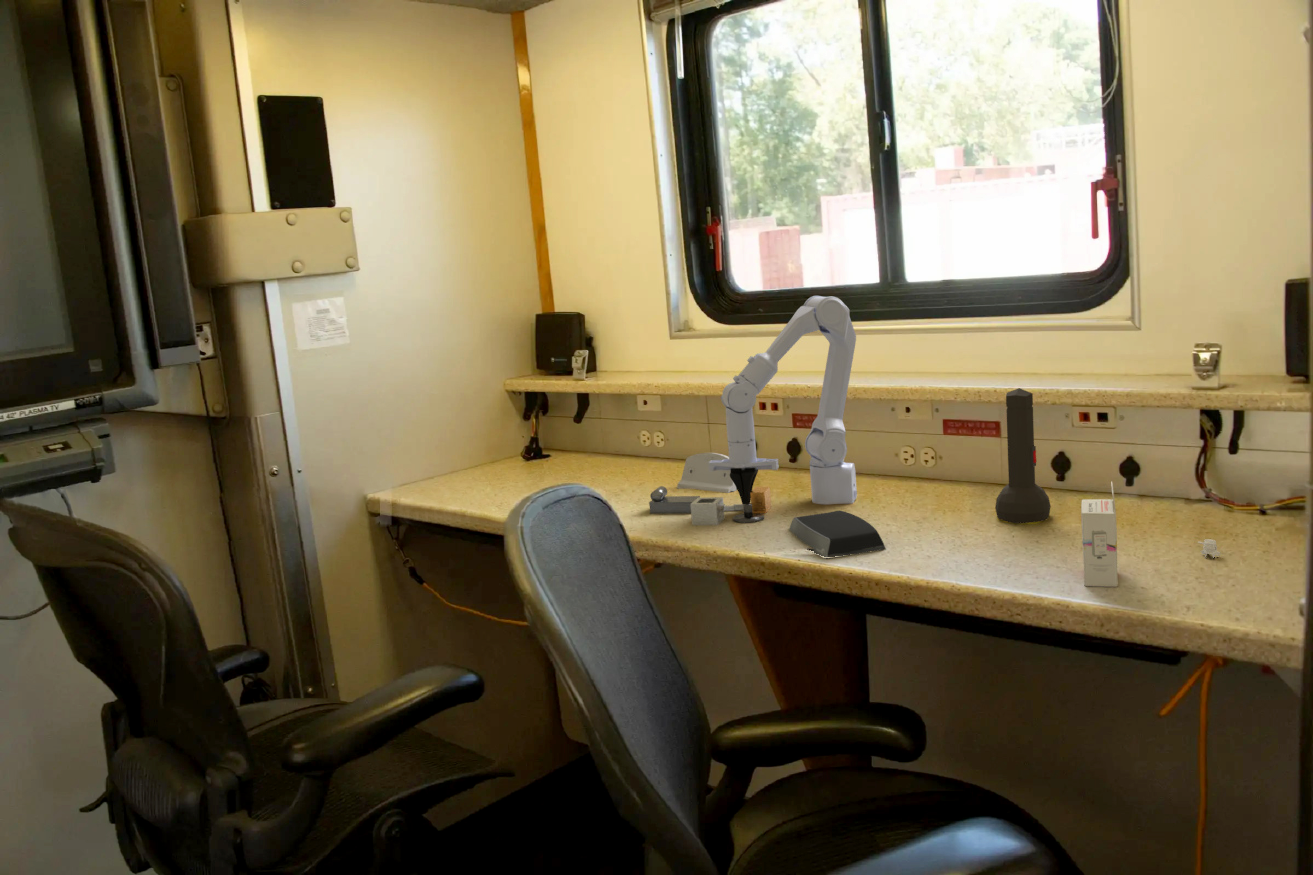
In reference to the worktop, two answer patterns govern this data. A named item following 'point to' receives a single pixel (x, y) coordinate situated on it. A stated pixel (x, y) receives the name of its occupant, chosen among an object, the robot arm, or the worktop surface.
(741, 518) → the post
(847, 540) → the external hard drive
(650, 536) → the worktop surface
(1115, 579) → the ink cartridge box
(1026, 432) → the flashlight
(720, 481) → the light grey piece
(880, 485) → the worktop surface
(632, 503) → the worktop surface
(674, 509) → the chain housing
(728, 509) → the chain slider
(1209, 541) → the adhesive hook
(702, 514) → the grey recessed block
